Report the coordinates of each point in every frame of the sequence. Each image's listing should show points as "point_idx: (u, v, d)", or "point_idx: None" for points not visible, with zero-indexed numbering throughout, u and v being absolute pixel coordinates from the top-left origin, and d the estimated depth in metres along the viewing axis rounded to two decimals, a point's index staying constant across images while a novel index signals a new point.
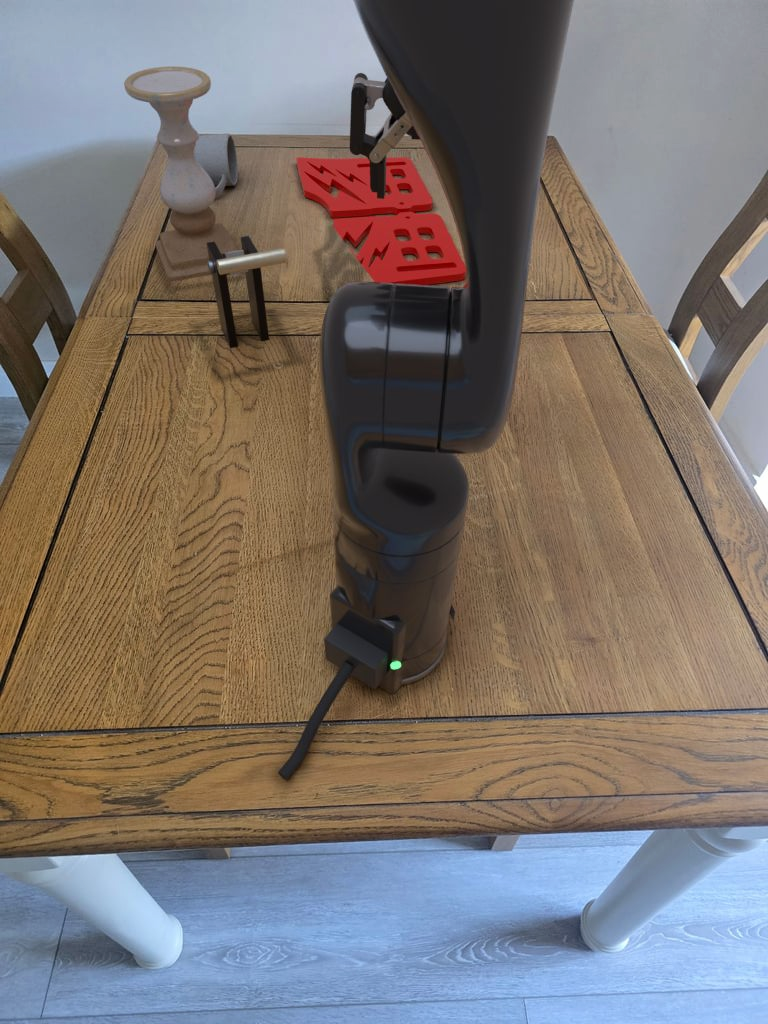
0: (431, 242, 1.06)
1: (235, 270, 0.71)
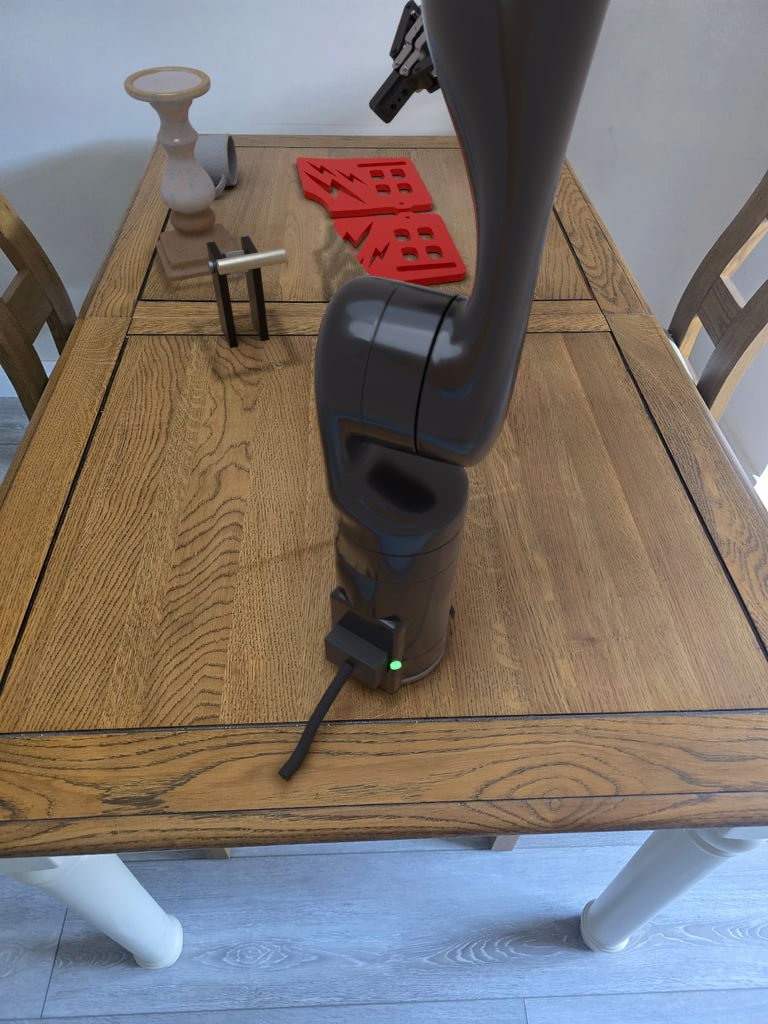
0: (431, 242, 1.06)
1: (235, 270, 0.71)
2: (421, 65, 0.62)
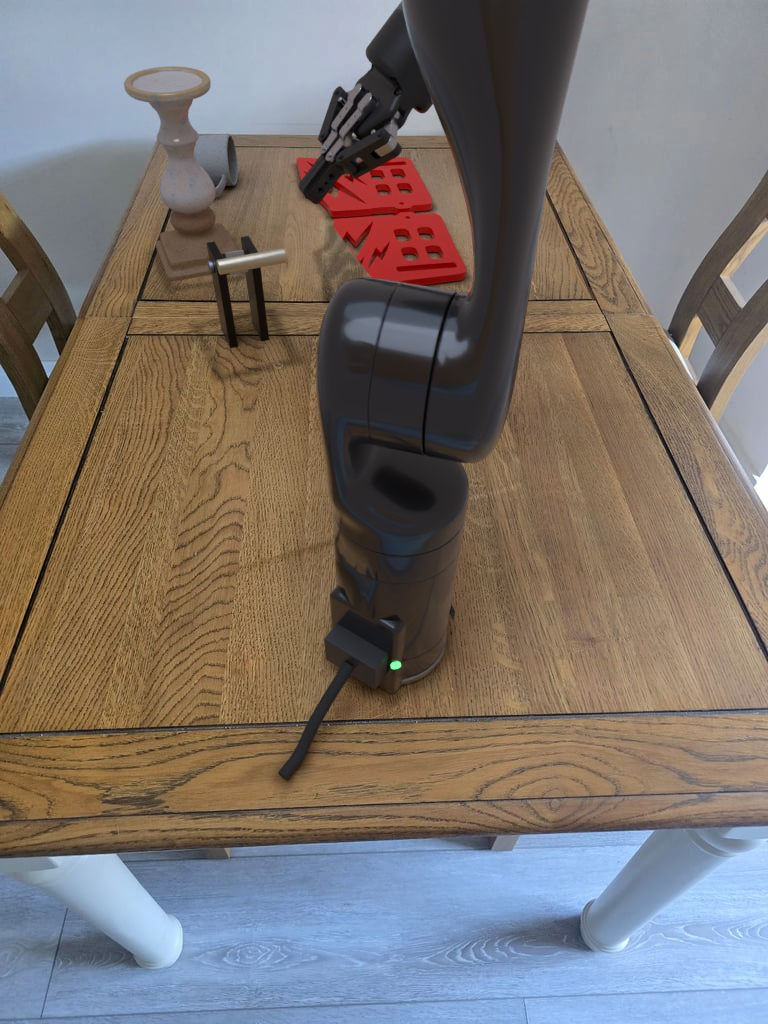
0: (431, 242, 1.06)
1: (235, 270, 0.71)
2: (344, 154, 0.65)
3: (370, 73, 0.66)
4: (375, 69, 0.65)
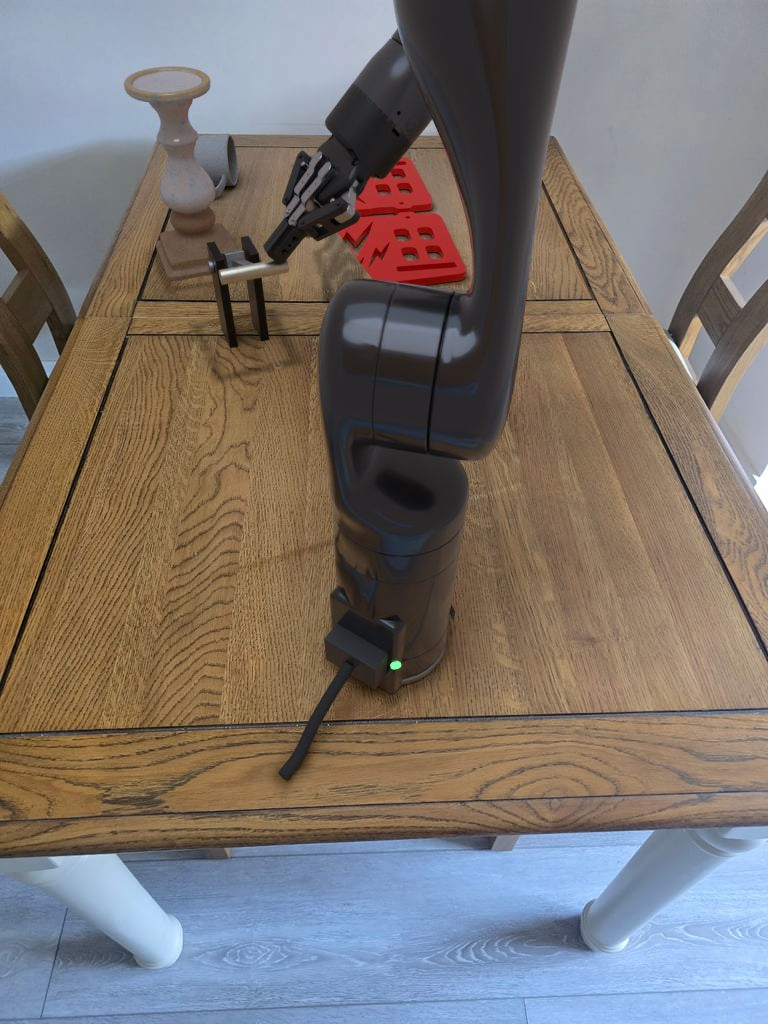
0: (431, 242, 1.06)
1: (237, 280, 0.72)
2: (305, 219, 0.67)
3: (331, 140, 0.69)
4: (335, 137, 0.68)
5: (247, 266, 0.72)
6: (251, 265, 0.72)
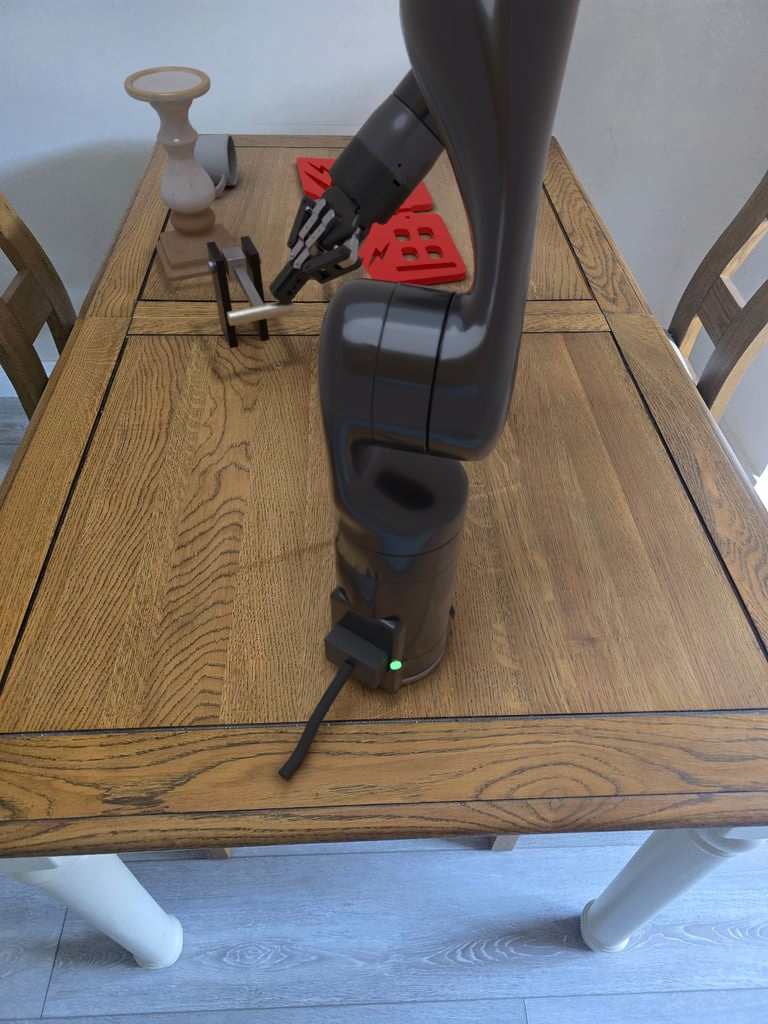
0: (431, 242, 1.06)
1: (245, 322, 0.75)
2: (309, 264, 0.70)
3: (334, 187, 0.71)
4: None
5: (255, 310, 0.74)
6: (259, 308, 0.74)
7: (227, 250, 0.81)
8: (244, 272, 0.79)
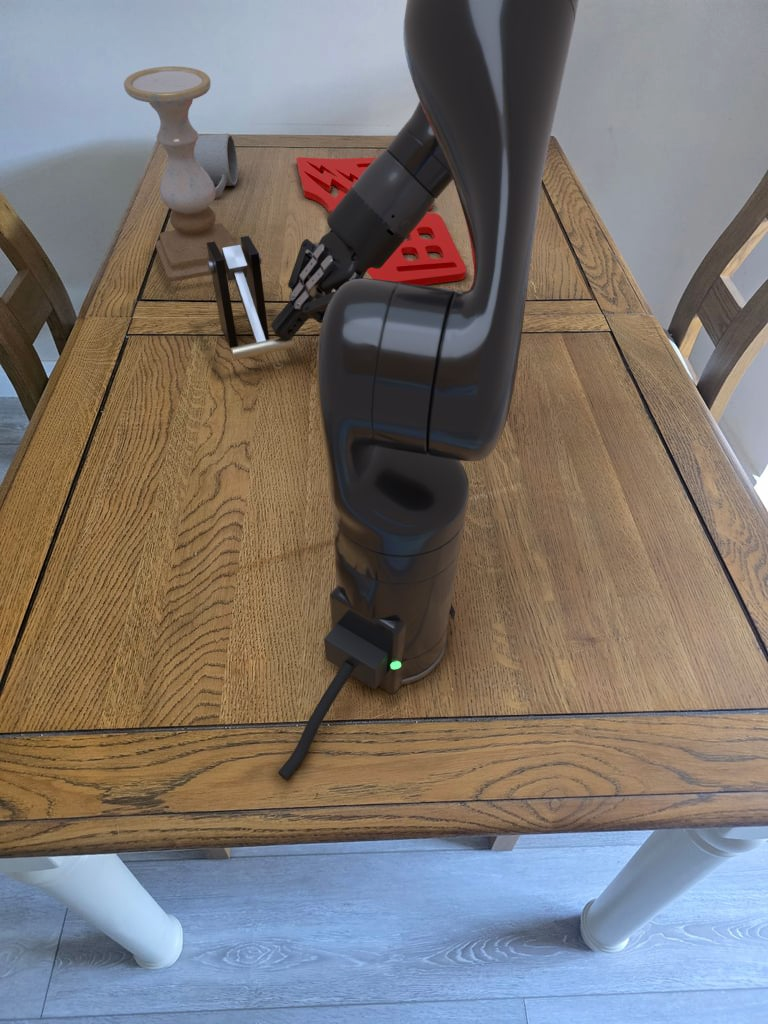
0: (431, 242, 1.06)
1: None
2: (309, 305, 0.75)
3: (332, 233, 0.76)
4: None
5: (258, 349, 0.79)
6: (262, 347, 0.79)
7: (228, 251, 0.81)
8: (245, 285, 0.81)
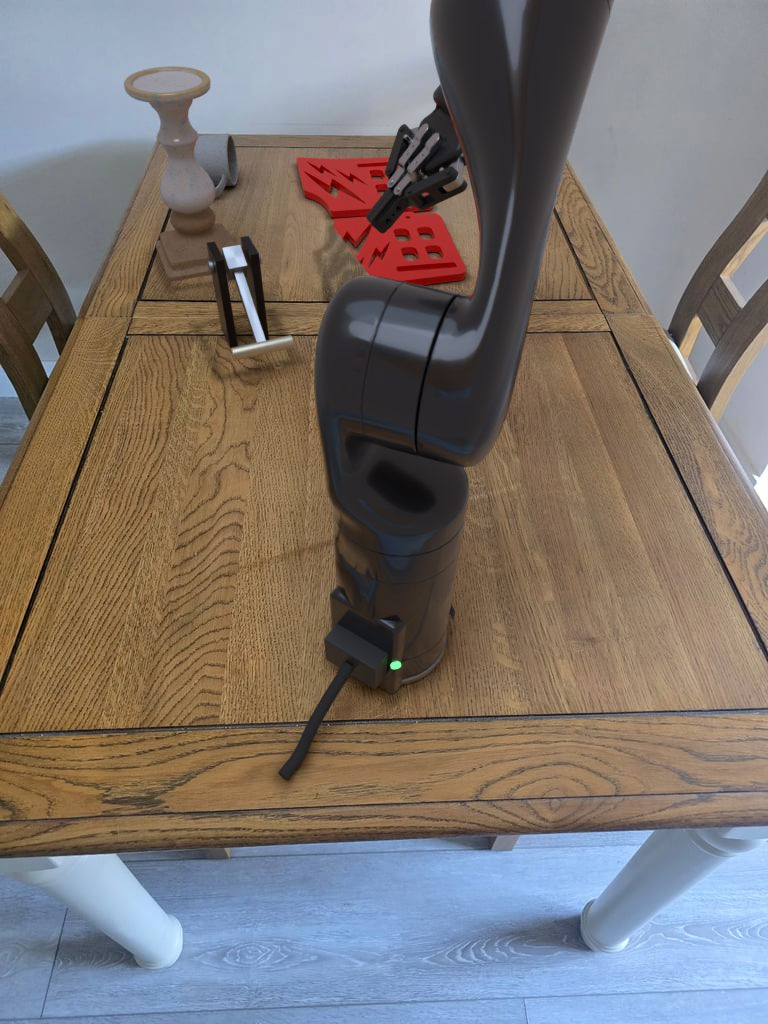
0: (431, 242, 1.06)
1: None
2: (412, 189, 0.70)
3: (435, 113, 0.71)
4: (441, 110, 0.70)
5: (258, 349, 0.79)
6: (262, 347, 0.79)
7: (228, 251, 0.81)
8: (245, 285, 0.81)
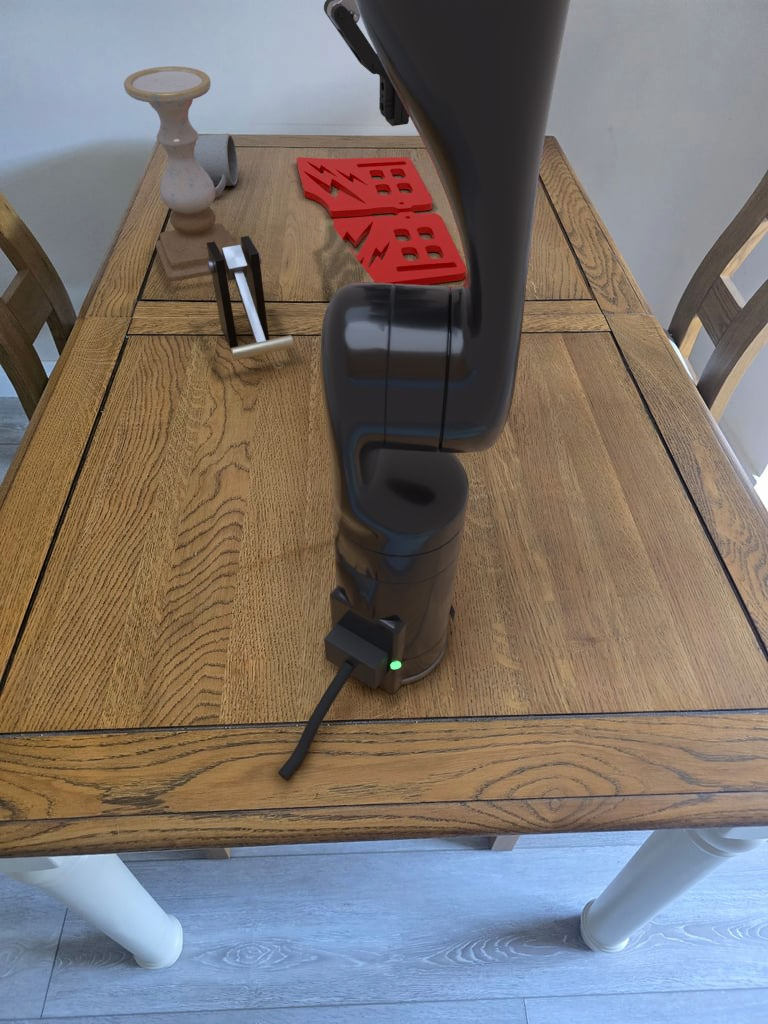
0: (431, 242, 1.06)
1: None
2: None
3: None
4: None
5: (258, 349, 0.79)
6: (262, 347, 0.79)
7: (228, 251, 0.81)
8: (245, 285, 0.81)
